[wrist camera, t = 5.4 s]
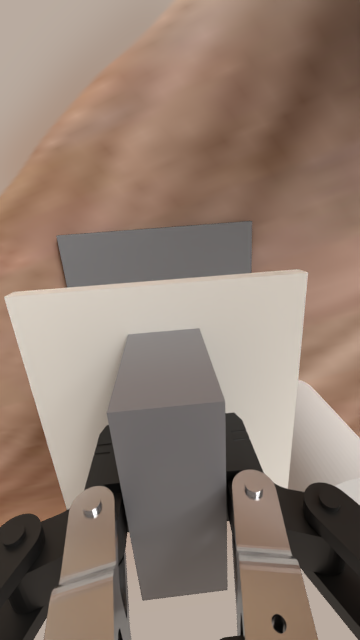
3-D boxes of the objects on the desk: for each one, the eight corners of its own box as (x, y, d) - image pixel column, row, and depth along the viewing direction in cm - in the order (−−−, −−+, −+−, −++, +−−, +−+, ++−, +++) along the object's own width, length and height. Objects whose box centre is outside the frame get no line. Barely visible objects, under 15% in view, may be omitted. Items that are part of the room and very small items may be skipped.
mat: (58, 235, 23) (56, 235, 22) (249, 221, 24) (252, 221, 23) (92, 399, 28) (91, 403, 28) (247, 383, 29) (249, 386, 29)
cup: (267, 452, 33) (325, 574, 21) (233, 404, 30) (278, 515, 19) (330, 417, 32) (426, 526, 20) (300, 365, 29) (391, 456, 18)
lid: (14, 291, 12) (-116, 358, 6) (298, 269, 12) (413, 311, 7) (72, 499, 16) (26, 648, 10) (281, 475, 16) (343, 606, 11)
